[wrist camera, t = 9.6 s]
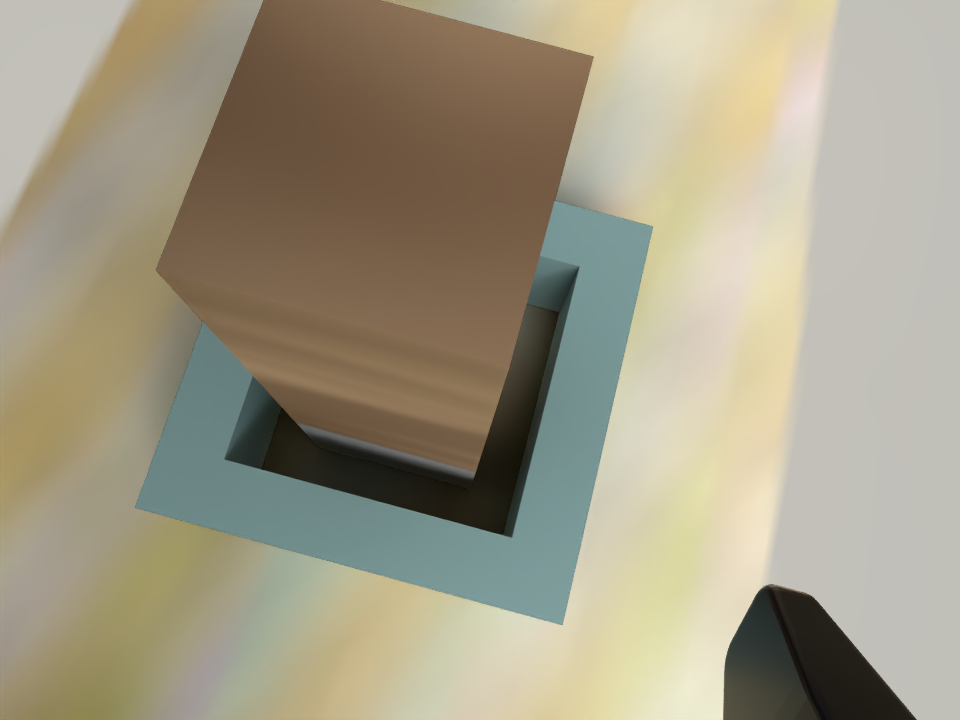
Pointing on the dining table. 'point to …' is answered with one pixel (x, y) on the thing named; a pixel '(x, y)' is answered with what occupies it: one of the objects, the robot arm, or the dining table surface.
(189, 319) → the dining table surface
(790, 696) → the robot arm
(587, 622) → the dining table surface
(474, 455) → the square wooden post
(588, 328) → the square teal collar
